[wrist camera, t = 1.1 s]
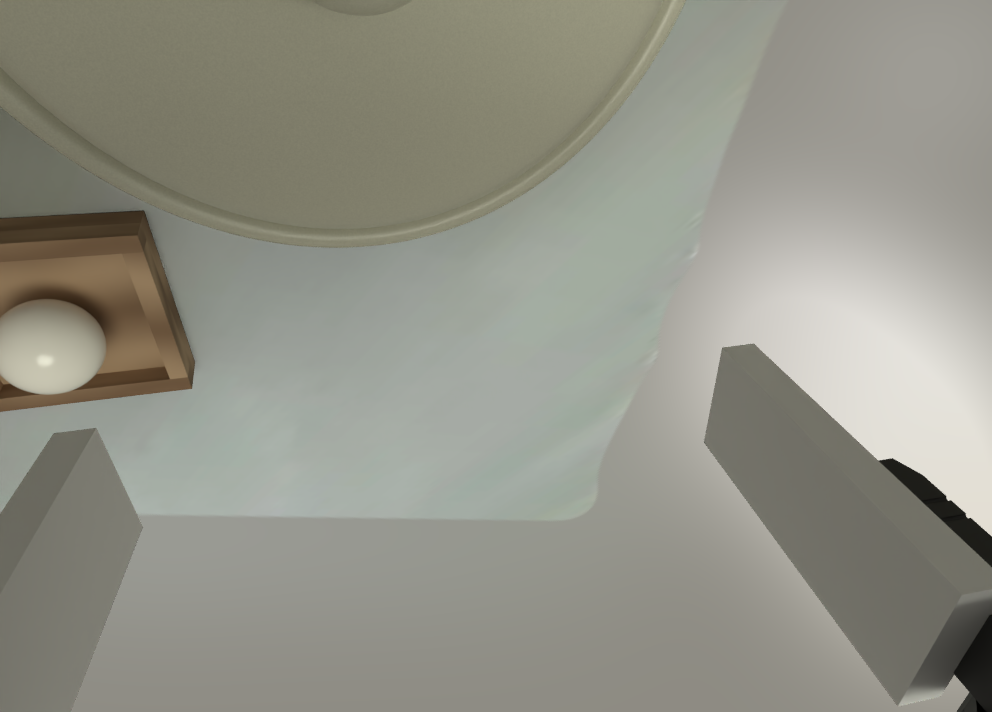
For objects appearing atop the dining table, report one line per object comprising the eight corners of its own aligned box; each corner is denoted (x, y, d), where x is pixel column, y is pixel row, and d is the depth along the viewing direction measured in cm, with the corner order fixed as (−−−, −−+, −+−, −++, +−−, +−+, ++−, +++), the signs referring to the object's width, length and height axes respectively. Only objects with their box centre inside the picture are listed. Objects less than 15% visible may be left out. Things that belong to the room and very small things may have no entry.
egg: (-14, 283, 32) (-47, 348, 28) (95, 275, 33) (76, 336, 30) (27, 355, 35) (2, 420, 32) (125, 345, 36) (111, 407, 33)
